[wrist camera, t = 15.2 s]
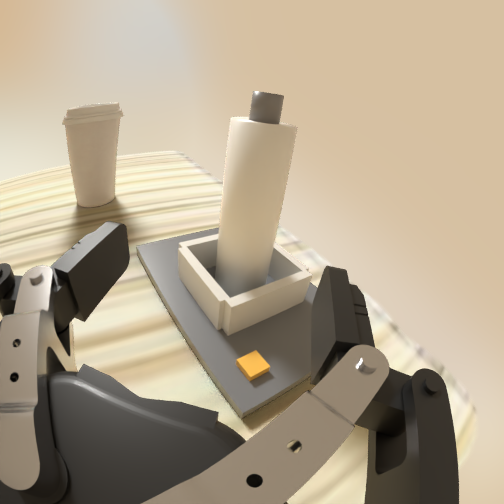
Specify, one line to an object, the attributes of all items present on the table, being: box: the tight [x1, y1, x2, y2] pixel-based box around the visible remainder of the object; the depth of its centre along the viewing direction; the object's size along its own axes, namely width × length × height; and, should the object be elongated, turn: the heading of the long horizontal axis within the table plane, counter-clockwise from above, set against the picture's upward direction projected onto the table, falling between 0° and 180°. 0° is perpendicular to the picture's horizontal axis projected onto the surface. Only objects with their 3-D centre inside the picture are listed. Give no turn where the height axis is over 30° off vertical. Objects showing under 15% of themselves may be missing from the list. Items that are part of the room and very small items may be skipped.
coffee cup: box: [62, 102, 123, 207], centre depth 33 cm, size 10×10×15 cm
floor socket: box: [136, 228, 318, 418], centre depth 24 cm, size 20×13×4 cm, turn 36°
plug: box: [215, 91, 297, 298], centre depth 20 cm, size 4×4×16 cm
